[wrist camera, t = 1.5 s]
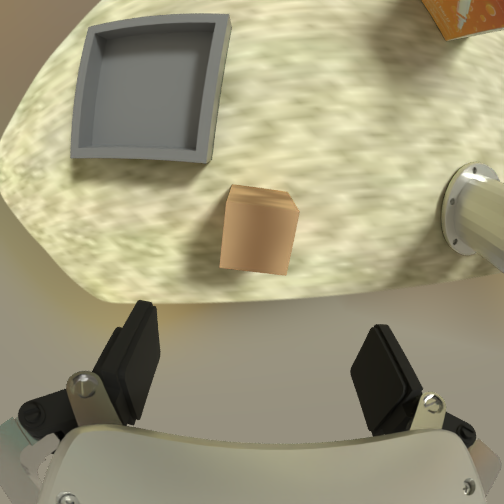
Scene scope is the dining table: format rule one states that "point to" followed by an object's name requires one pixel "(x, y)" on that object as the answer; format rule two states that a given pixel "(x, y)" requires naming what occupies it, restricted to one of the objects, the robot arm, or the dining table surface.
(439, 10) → the small box
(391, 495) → the robot arm
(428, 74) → the dining table surface
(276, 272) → the wooden block
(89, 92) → the tray
